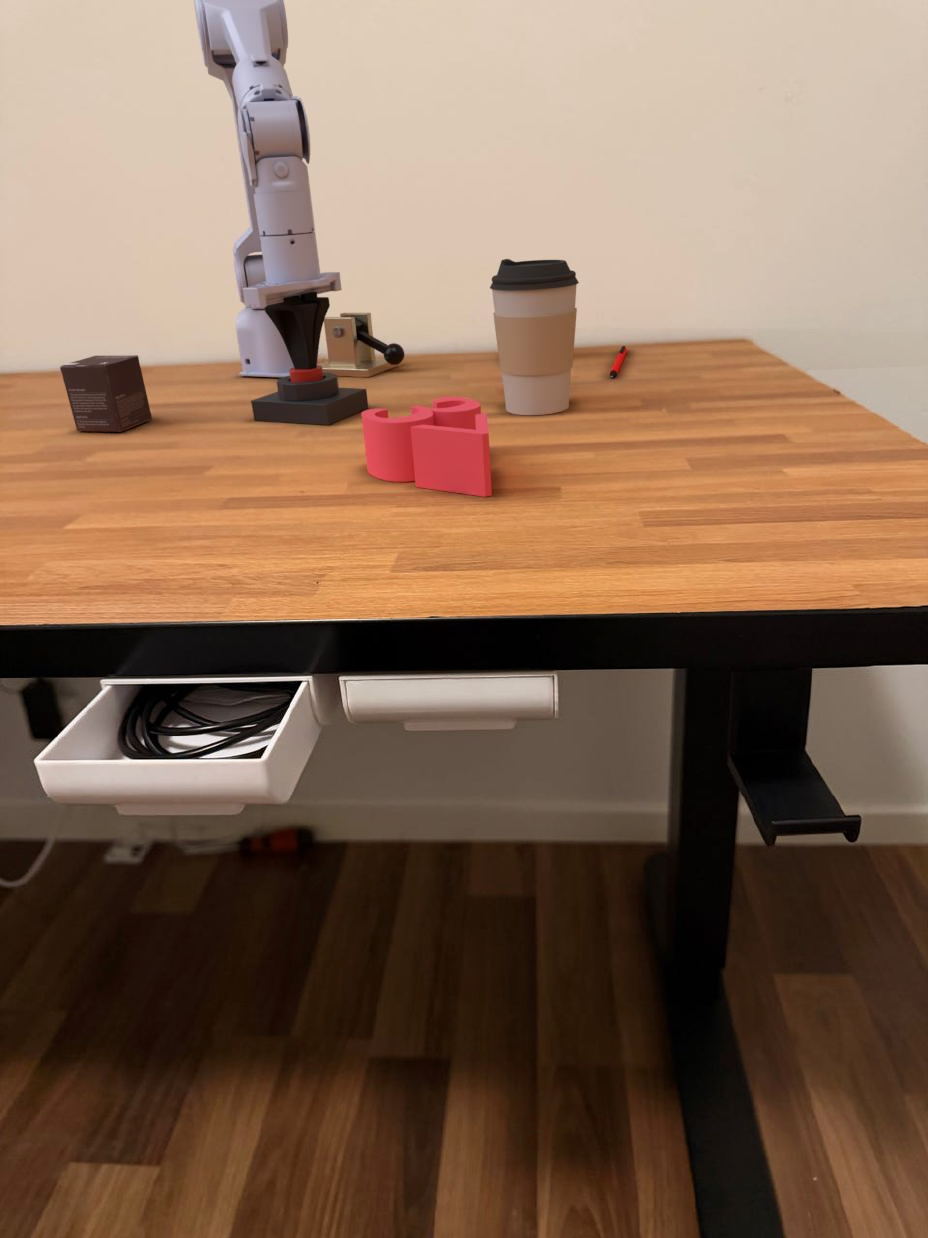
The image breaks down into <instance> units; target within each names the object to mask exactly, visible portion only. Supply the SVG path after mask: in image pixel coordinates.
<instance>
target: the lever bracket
mask: <svg viewBox="0 0 928 1238" xmlns="http://www.w3.org/2000/svg"><path fill="white" fill-rule="evenodd" d="M346 315H348V316H349V317H342V316H346ZM355 320H357V321H358V322H360V323H362V324H363V328H362V331H363V332H365V333H367V334H369V335H371V336H372V337H374V333H373V332H374V331H373V323H372V313H371V312H342V313H340V314H339V316H325V319H324V322H323V326H324V334H325V341H326V350H327V359H328V360H326V361H323V362H320V363H317V365H319V366H322V369H323V373H332V374H336V375H337V377H350V378H351V377H355V378H370V377H373V376H376V375H378V374H381V373H384V372H386V371H389V370H391V369H394V368H397V367H399V366H400V364H398V365H391V364H389V363H387V362H386V360H385V358H383V357H376V353H375V352H376V350H375V349H374V348H372V347H370V346H368V345H366V344H365V343H363V342H361V341H357V334H356V325H355Z"/></svg>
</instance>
